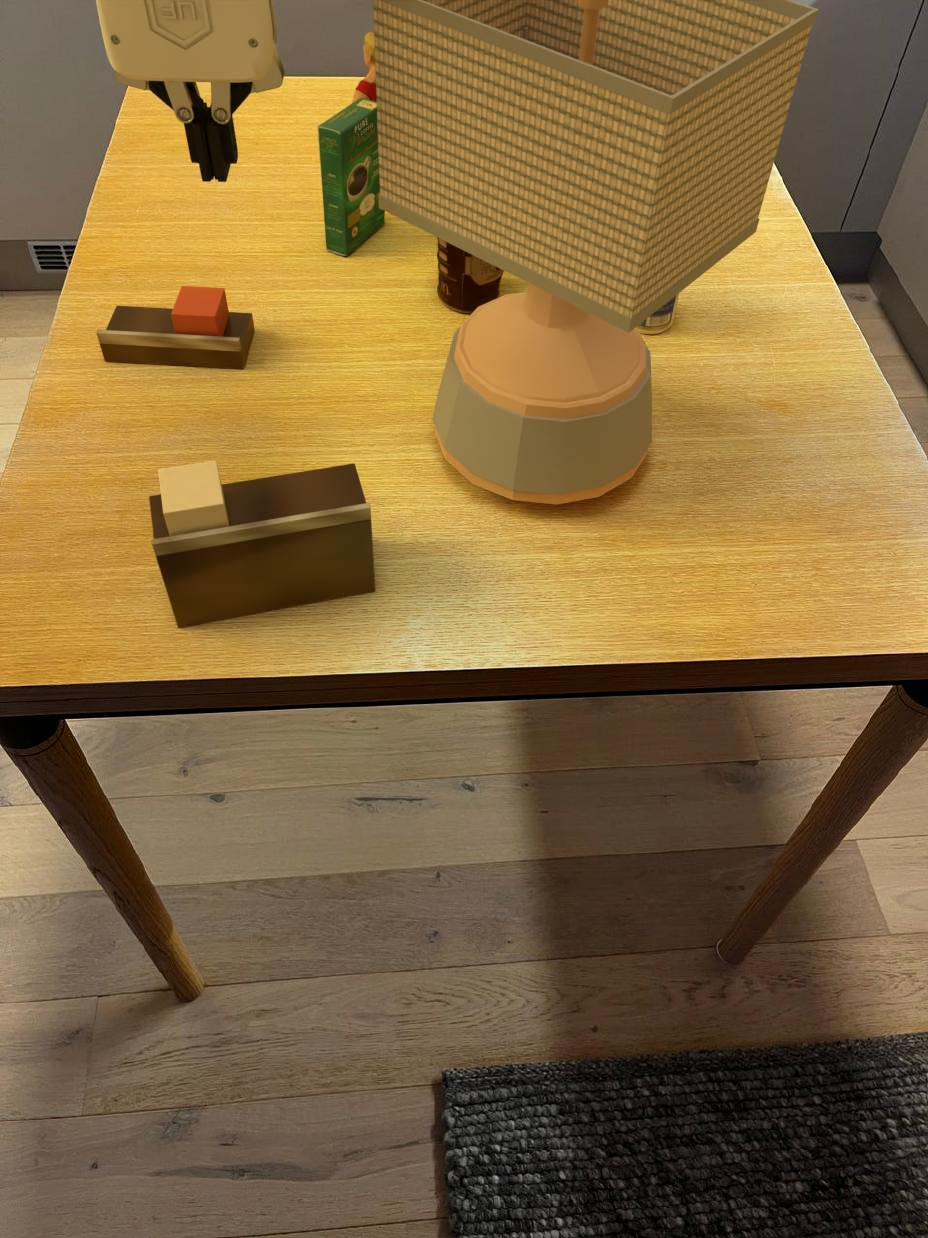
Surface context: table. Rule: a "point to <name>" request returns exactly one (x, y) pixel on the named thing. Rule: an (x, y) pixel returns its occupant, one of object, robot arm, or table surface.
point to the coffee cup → (465, 279)
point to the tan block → (192, 498)
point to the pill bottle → (659, 318)
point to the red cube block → (200, 311)
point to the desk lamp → (575, 201)
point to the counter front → (270, 547)
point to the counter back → (173, 340)
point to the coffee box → (350, 176)
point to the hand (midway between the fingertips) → (217, 171)
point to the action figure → (368, 84)
